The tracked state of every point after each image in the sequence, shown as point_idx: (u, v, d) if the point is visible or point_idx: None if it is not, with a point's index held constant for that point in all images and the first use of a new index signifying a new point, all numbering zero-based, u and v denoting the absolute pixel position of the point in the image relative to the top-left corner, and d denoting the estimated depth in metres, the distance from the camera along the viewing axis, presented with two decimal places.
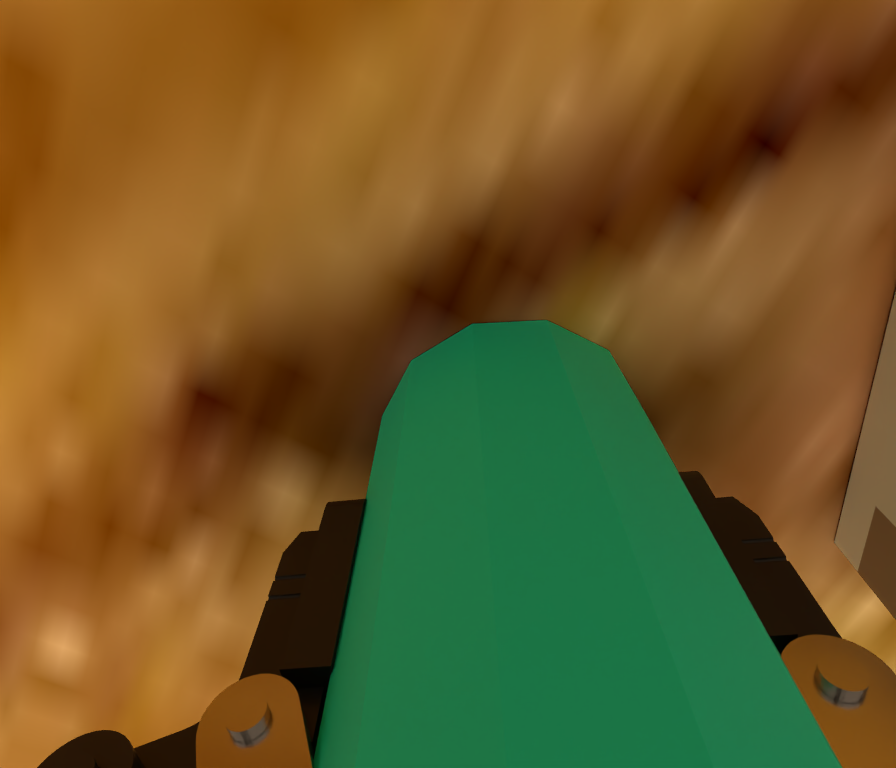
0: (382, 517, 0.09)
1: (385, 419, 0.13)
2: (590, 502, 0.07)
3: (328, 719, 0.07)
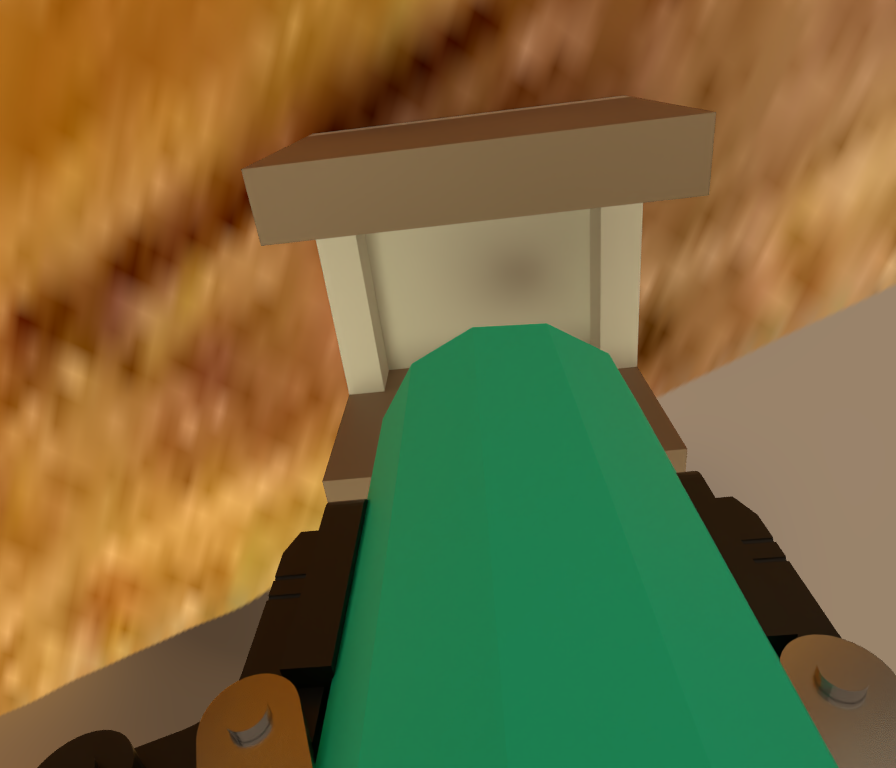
0: (383, 521, 0.09)
1: (386, 422, 0.13)
2: (590, 507, 0.07)
3: (330, 722, 0.07)
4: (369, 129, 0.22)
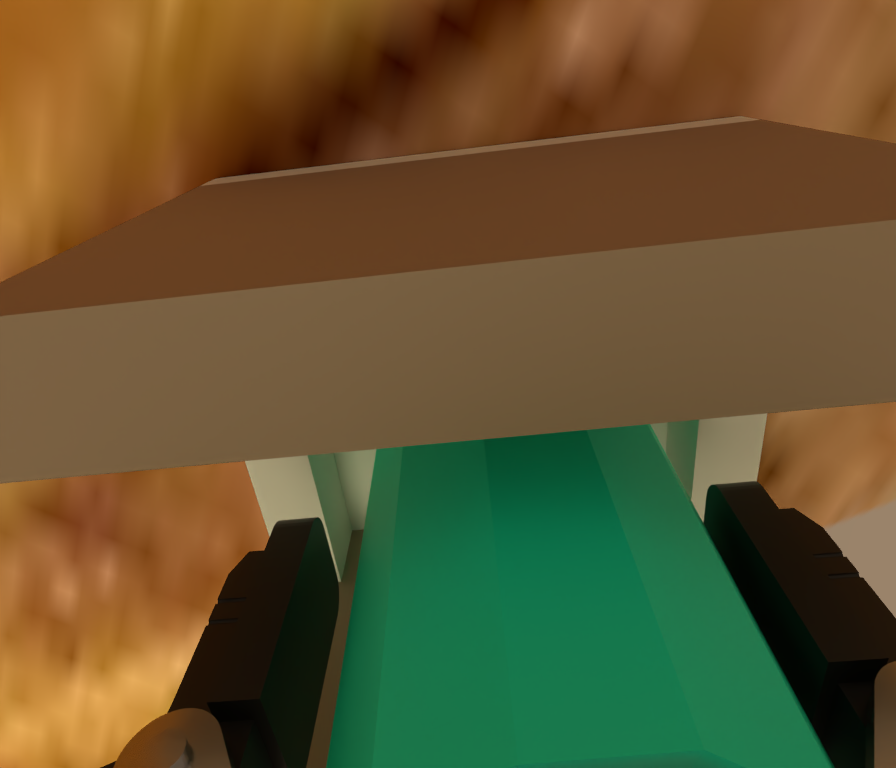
0: (395, 457, 0.11)
1: None
2: (569, 438, 0.09)
3: (357, 612, 0.09)
4: (305, 175, 0.13)
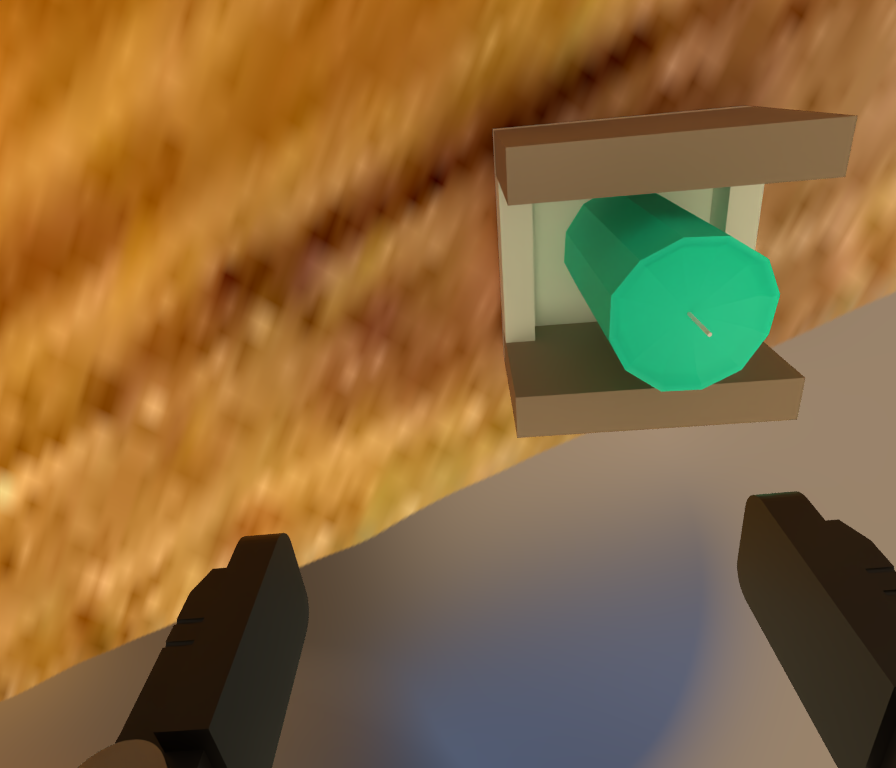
0: (599, 231, 0.26)
1: (572, 228, 0.30)
2: (677, 209, 0.24)
3: (600, 267, 0.24)
4: (545, 126, 0.28)
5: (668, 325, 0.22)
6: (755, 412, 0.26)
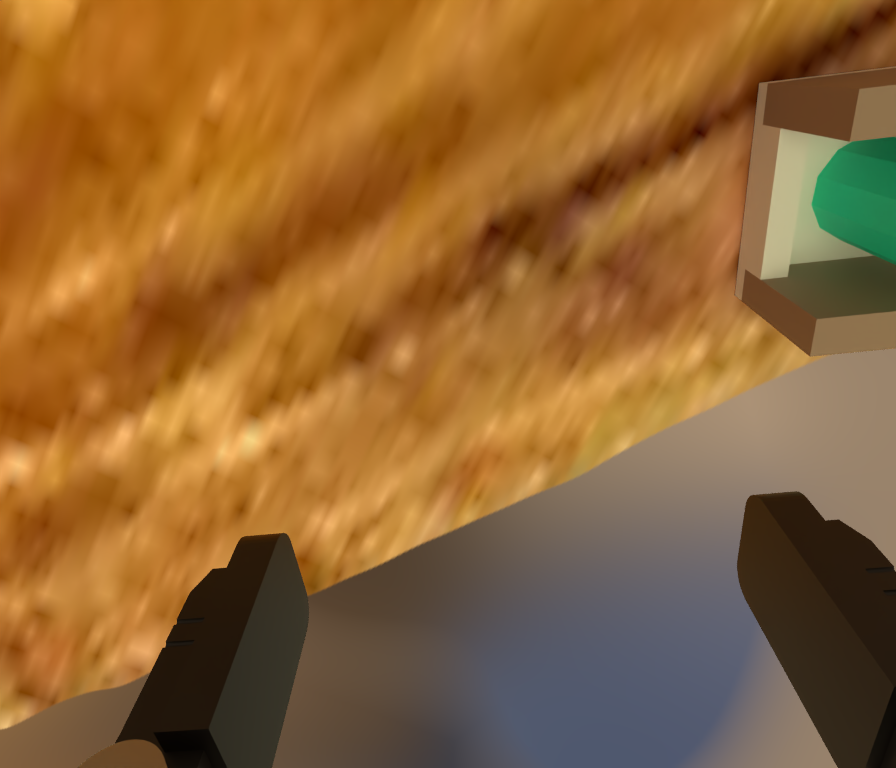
0: (889, 168, 0.29)
1: (829, 172, 0.33)
2: None
3: None
4: (817, 77, 0.31)
5: None
6: None
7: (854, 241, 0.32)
